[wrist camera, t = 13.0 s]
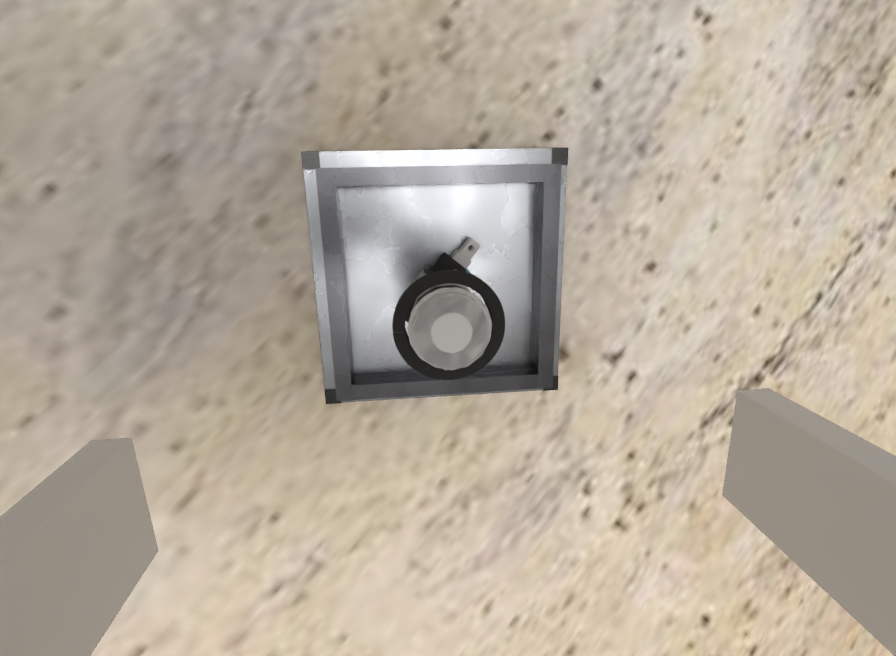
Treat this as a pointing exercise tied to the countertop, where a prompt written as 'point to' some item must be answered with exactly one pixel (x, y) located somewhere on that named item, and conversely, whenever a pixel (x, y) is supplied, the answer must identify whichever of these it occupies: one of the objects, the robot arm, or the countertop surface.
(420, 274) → the push button
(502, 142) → the countertop surface
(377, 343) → the grey metal square tray
